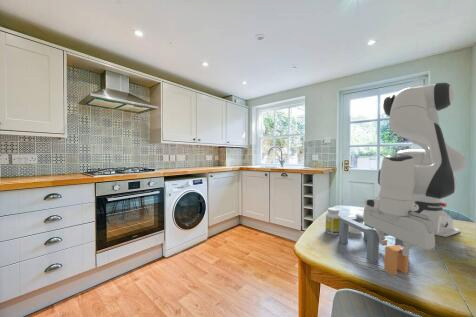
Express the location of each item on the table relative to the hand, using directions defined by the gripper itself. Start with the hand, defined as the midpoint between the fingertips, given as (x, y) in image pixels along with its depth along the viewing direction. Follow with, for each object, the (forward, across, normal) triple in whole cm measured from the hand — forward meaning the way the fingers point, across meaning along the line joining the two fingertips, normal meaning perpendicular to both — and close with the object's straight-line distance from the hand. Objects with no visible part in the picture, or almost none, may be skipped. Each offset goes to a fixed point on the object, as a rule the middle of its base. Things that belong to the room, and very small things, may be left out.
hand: (392, 249), depth 63 cm
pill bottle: (+7, +29, -1) cm, 30 cm away
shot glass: (+7, +28, -12) cm, 31 cm away
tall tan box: (+7, -1, 0) cm, 7 cm away
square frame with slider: (+7, +13, -5) cm, 16 cm away
